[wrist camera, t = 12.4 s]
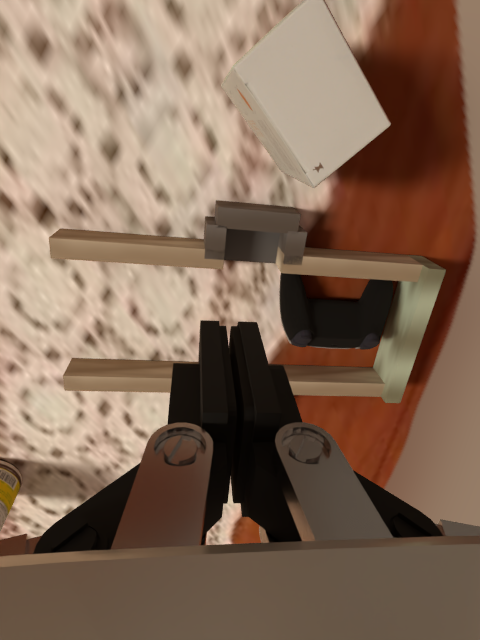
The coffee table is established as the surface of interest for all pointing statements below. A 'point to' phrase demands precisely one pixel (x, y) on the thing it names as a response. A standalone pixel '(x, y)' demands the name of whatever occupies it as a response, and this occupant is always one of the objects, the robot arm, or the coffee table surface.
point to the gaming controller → (334, 316)
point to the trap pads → (251, 246)
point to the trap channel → (292, 258)
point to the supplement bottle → (8, 488)
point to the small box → (306, 95)
